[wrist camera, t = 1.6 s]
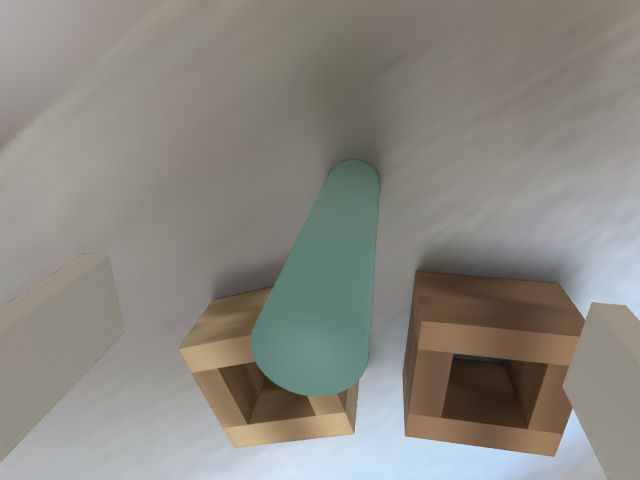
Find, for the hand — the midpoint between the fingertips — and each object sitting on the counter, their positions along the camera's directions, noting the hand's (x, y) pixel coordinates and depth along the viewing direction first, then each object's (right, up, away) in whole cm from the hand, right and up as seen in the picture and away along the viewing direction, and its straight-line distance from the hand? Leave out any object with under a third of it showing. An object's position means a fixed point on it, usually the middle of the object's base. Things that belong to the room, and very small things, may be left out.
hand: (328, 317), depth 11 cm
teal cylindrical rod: (+2, +5, +11) cm, 13 cm away
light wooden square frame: (-3, -4, +17) cm, 17 cm away
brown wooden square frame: (+9, -4, +14) cm, 17 cm away
